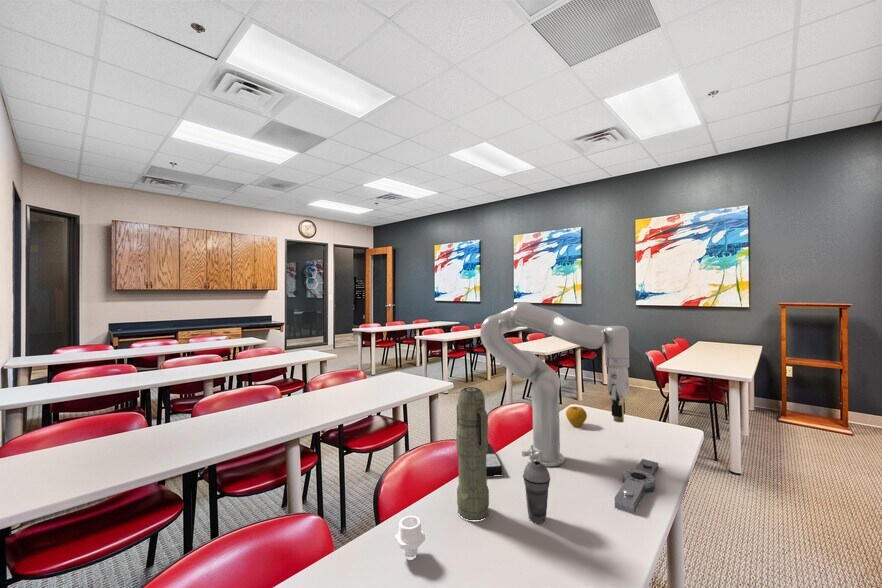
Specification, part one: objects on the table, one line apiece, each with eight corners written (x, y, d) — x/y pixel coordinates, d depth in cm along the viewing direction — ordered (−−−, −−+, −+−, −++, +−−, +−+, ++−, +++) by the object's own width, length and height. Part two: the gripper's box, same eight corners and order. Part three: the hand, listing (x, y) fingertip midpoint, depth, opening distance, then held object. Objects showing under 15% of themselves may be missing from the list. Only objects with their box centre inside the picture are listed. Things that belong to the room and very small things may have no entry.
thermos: (478, 529, 96) (476, 396, 96) (447, 509, 105) (445, 388, 104) (499, 515, 102) (497, 390, 101) (469, 497, 110) (467, 382, 110)
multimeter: (490, 452, 142) (490, 439, 142) (502, 477, 123) (502, 462, 123) (457, 454, 141) (457, 441, 141) (464, 479, 122) (464, 464, 122)
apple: (585, 423, 171) (585, 404, 171) (588, 430, 162) (588, 410, 162) (565, 421, 173) (565, 402, 173) (567, 428, 164) (567, 408, 164)
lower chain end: (651, 496, 110) (651, 488, 110) (620, 486, 115) (620, 479, 115) (664, 468, 126) (664, 462, 126) (636, 461, 132) (636, 455, 132)
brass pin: (618, 422, 124) (618, 396, 124) (611, 420, 127) (610, 394, 127) (626, 421, 125) (625, 395, 125) (618, 418, 128) (617, 393, 128)
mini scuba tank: (546, 531, 95) (545, 454, 95) (519, 522, 99) (518, 448, 98) (554, 516, 101) (553, 444, 101) (528, 508, 105) (527, 438, 105)
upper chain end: (641, 517, 100) (641, 503, 100) (607, 505, 105) (607, 492, 105) (656, 484, 116) (656, 472, 116) (627, 475, 122) (627, 464, 122)
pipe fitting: (390, 560, 85) (389, 526, 85) (408, 542, 91) (408, 510, 91) (412, 570, 82) (411, 535, 82) (430, 551, 88) (429, 518, 88)
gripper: (623, 367, 117) (624, 424, 117) (634, 359, 130) (635, 410, 130) (598, 364, 122) (600, 419, 122) (611, 357, 135) (612, 406, 135)
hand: (618, 414), depth 126 cm, fingers closed on brass pin, 3 cm apart
